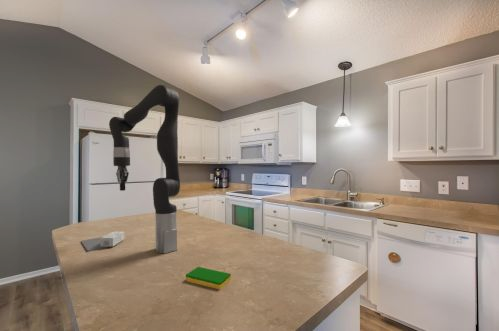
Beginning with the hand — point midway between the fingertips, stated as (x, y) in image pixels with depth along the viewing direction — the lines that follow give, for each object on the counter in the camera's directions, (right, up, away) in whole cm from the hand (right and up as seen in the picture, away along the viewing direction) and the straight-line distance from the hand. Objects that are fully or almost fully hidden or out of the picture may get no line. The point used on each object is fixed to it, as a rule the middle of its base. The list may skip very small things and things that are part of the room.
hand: (122, 190), depth 119 cm
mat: (-11, -26, -3) cm, 29 cm away
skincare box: (-2, -24, -10) cm, 26 cm away
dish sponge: (+51, -27, -41) cm, 70 cm away
